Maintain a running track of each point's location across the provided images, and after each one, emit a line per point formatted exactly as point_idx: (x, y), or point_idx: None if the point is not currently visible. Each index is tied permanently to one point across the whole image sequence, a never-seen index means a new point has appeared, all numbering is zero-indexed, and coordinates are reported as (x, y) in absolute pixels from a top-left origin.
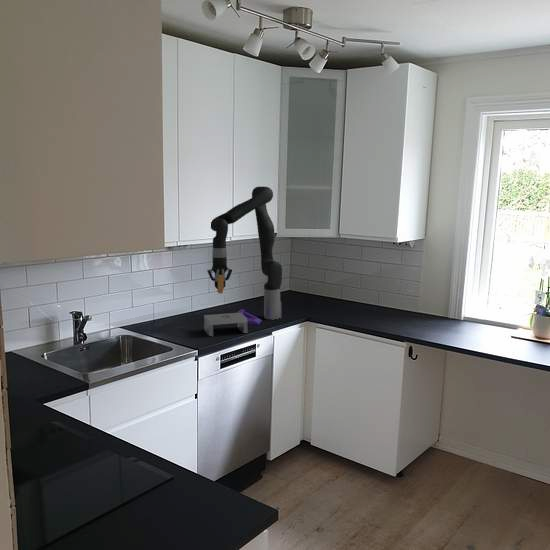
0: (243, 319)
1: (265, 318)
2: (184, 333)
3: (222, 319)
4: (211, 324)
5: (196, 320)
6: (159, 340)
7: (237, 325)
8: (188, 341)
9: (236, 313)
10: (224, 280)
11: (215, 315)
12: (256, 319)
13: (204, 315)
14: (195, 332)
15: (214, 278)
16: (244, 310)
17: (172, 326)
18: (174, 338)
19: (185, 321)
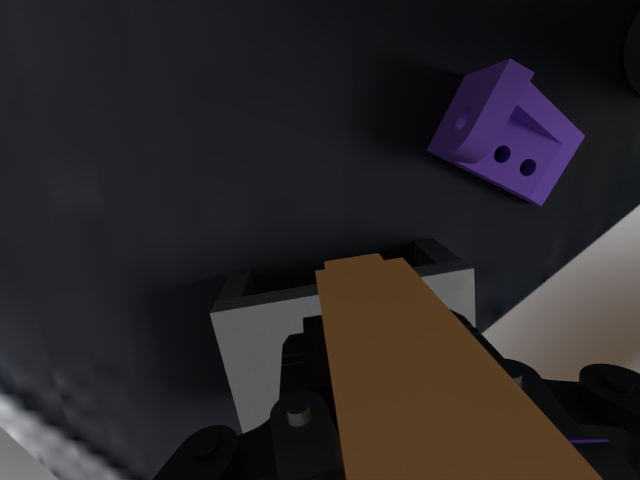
0: None
1: (625, 66)
2: (127, 326)
3: None
4: None
5: (158, 15)
6: (26, 424)
7: (416, 247)
8: (168, 447)
9: (438, 291)
10: None
11: (290, 329)
12: (554, 160)
13: (213, 321)
14: (184, 314)
15: (274, 477)
16: (528, 76)
17: (18, 166)
18: (93, 401)
19: (79, 33)
